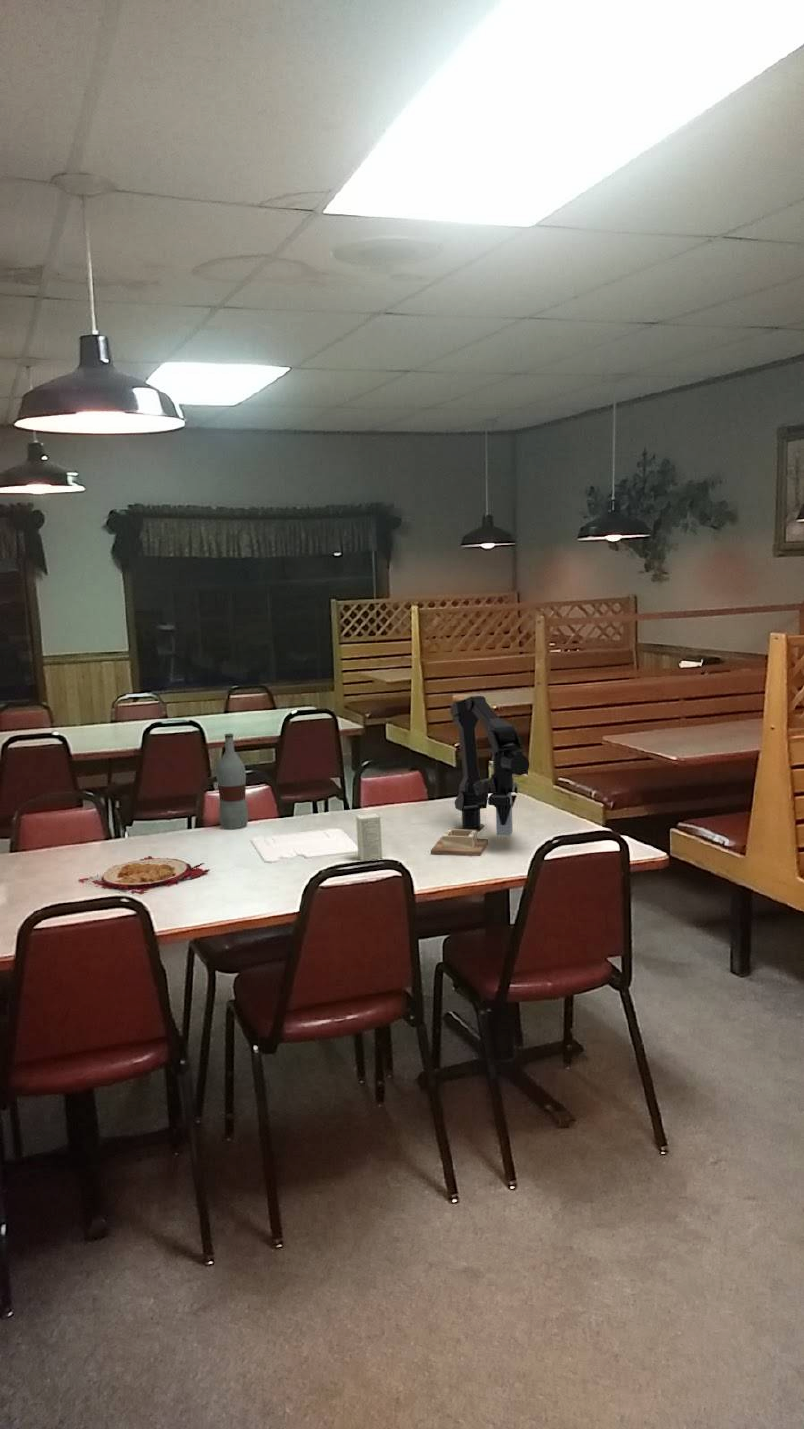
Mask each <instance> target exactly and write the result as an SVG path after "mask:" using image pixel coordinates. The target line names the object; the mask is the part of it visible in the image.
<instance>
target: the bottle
mask: <svg viewBox="0 0 804 1429" xmlns="http://www.w3.org/2000/svg"><path fill="white" fill-rule="evenodd" d="M234 745H235V743H234V734H233V733H225V734H224V746H225V750H224V753H223V755H222V756H221V758H220V761H219V762H218V764H217V768H216V782H217V788H218V789H217V790H218V794H219V795H218V796H219V807H218V819H219V823H220V827H221V828H222V829H223V830H232V831H233V830H239V829H244V828H246V827H247V826H248V824H249V810H248V809H249V808H248V804H247V801H246V800H247V799H246V794H247V793H246V786H247V785H246V784H247V781H246V780H247V773H246V772H247V771H246V768H245V765H244V764H245V763H244V762H243V761H242V759H241V758H240V756H239V755H238V754H237V753H236V751H235V746H234Z"/></svg>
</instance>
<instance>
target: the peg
mask: <svg viewBox="0 0 804 1429" xmlns="http://www.w3.org/2000/svg"><path fill="white" fill-rule="evenodd" d="M495 813H496V814H495V817H496V818H495V819H496V820H495V821H496V822H495V823H496V826H495V827H496V836H510V837H511V836H512V834H513V833H514V832H513V830H514V829H513V808H512V807H511V810H510V813H509V815H508V818H507V821H506V824H505V825H501V822H500V818H499V814H498V811H497V808H496V807H495Z"/></svg>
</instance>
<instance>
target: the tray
mask: <svg viewBox="0 0 804 1429" xmlns="http://www.w3.org/2000/svg"><path fill="white" fill-rule="evenodd" d="M250 842H251V844H252V846H253V847H254V849H255V850H256V852H257V854H258V855H259V856H260V858H261V860H262V861H263V862H264V863H265V864H279V863H280V860H281V859H288V858H294V857H295V858H296V857H303V858H304V859H306V860H311V859H318V858H326V857H327V858H329V857H337V856H345V855H351V854H352V855H353V854H358V844H356V843H355V842H354V841H353V839H352V838H350V837H349V836H348V835H347V834H346V833H345V832H344V830H342V829H341V828H326V829H318V830H309V831H308V830H307V831H301V832H292V833H291V832H290V833H280V834H273V835H262V836H254V837H252V838H251V839H250Z"/></svg>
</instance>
